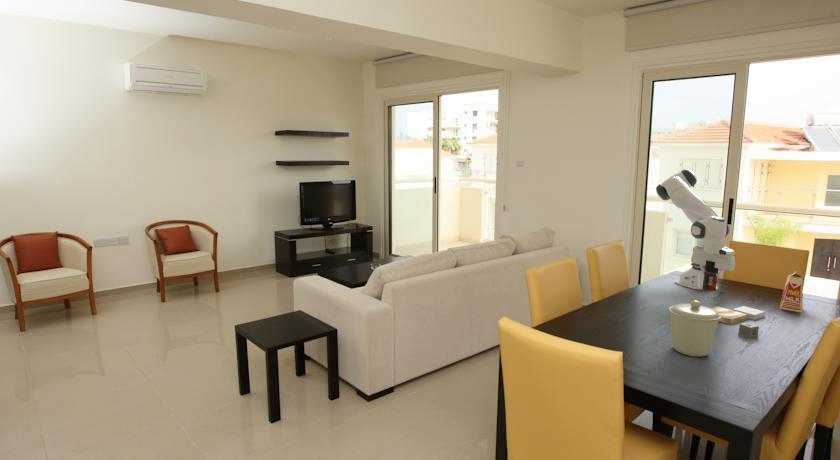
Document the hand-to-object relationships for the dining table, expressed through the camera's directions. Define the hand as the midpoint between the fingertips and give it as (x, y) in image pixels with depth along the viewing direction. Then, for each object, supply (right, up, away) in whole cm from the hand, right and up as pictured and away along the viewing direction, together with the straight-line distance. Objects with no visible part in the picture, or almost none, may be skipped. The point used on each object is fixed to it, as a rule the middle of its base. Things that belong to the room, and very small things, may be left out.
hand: (710, 275), depth 253 cm
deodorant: (0, -8, +1) cm, 8 cm away
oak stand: (-2, -19, -13) cm, 23 cm away
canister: (-40, -26, -55) cm, 72 cm away
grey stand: (+13, -19, -10) cm, 24 cm away
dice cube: (-5, -23, -37) cm, 44 cm away
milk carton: (+42, -17, +2) cm, 45 cm away
